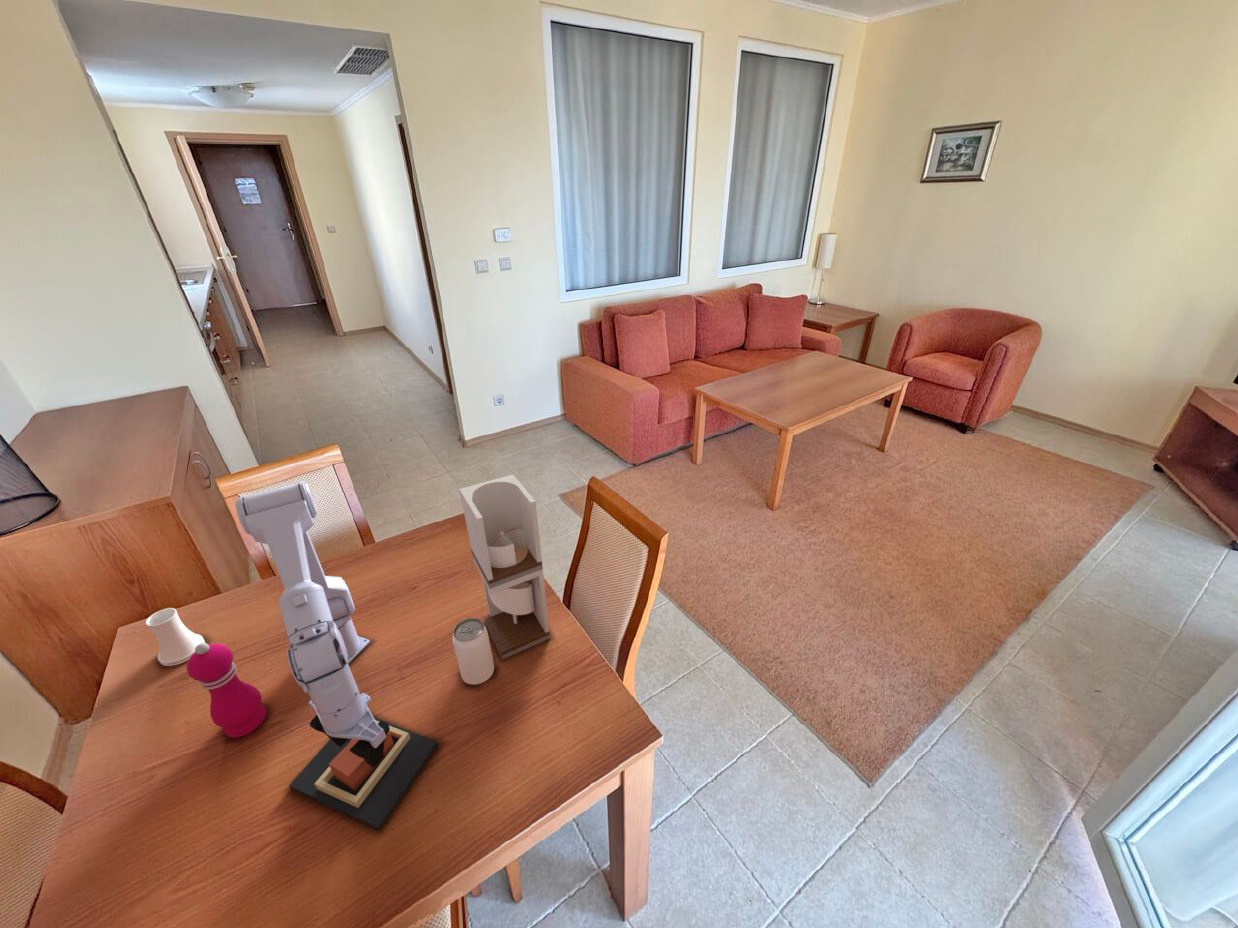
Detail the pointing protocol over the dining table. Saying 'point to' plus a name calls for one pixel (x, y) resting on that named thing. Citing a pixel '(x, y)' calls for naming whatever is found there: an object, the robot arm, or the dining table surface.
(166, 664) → the vase
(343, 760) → the reddish brown block
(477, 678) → the can
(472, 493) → the white tower stand
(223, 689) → the pepper mill
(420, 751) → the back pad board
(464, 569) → the dining table surface
